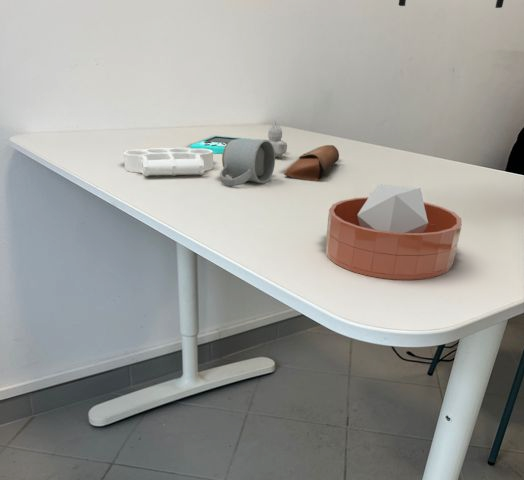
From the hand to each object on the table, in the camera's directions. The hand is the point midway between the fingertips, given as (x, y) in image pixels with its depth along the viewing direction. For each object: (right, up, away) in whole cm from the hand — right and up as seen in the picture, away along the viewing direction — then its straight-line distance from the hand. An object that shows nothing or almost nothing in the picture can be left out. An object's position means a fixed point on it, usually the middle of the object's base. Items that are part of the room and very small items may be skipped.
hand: (449, 6), depth 78 cm
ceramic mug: (-31, -18, +25) cm, 43 cm away
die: (-11, -37, -8) cm, 40 cm away
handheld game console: (-38, 0, +55) cm, 67 cm away
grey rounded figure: (-24, -6, +46) cm, 52 cm away
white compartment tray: (-46, -14, +31) cm, 57 cm away
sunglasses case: (-17, -13, +35) cm, 41 cm away
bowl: (-11, -38, -8) cm, 40 cm away
